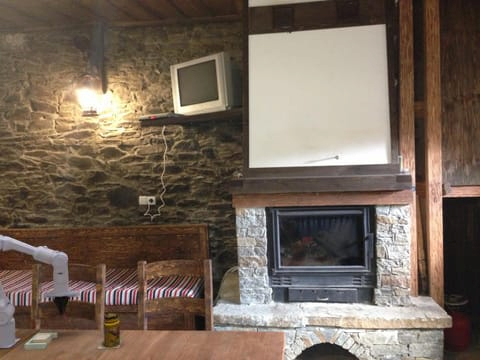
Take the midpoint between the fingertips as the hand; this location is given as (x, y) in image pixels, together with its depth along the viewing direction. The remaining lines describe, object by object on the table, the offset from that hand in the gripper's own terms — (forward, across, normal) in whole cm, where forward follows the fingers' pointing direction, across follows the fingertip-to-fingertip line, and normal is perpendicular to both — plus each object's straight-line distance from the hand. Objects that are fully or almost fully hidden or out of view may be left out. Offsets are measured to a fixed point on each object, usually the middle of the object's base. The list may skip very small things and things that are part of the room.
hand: (62, 314), depth 172 cm
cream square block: (+10, +5, +7) cm, 13 cm away
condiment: (+10, -23, +10) cm, 26 cm away
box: (+9, +5, +7) cm, 13 cm away
